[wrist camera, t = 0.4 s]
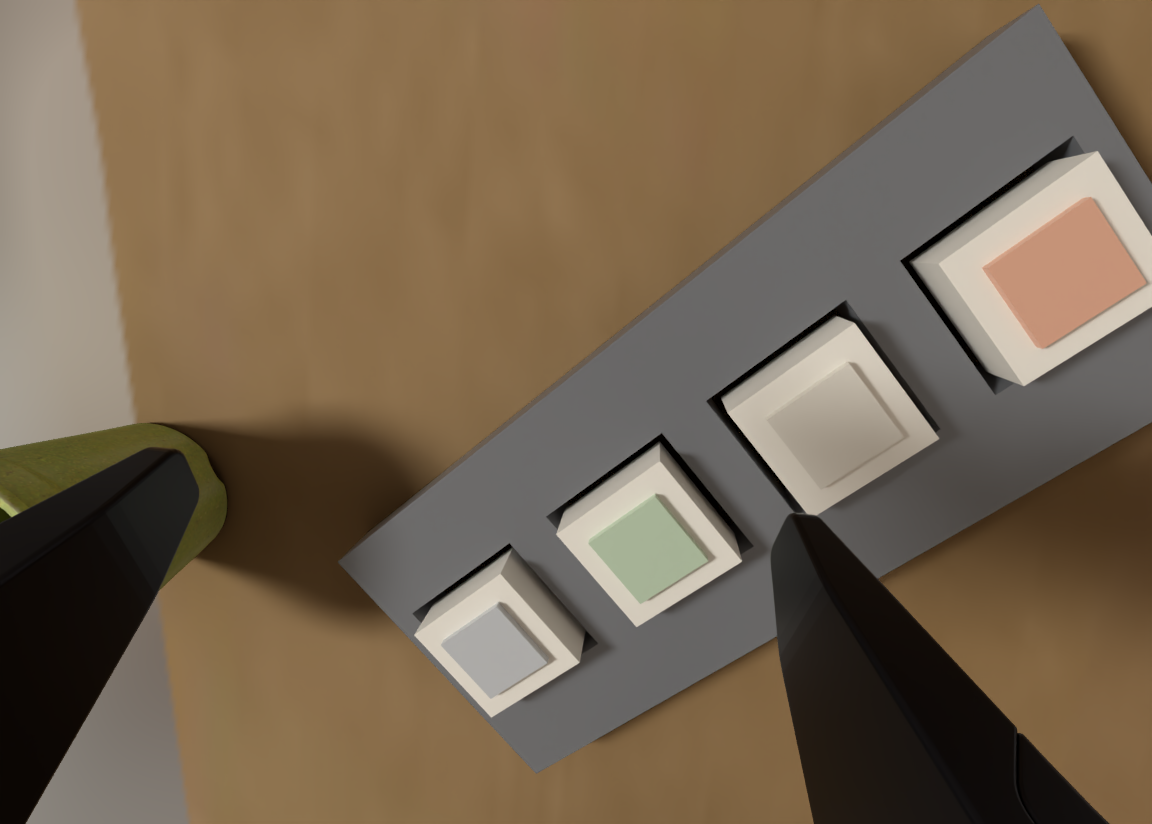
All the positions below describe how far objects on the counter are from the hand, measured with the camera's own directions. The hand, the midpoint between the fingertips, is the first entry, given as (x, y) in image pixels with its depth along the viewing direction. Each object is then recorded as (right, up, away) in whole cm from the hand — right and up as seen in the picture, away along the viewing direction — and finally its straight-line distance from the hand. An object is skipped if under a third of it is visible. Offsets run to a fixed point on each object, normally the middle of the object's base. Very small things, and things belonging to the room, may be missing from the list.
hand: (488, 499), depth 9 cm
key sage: (+4, -3, +13) cm, 14 cm away
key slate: (-1, -7, +15) cm, 16 cm away
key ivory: (+9, +1, +11) cm, 14 cm away
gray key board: (+7, 0, +13) cm, 15 cm away
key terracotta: (+15, +6, +9) cm, 18 cm away
